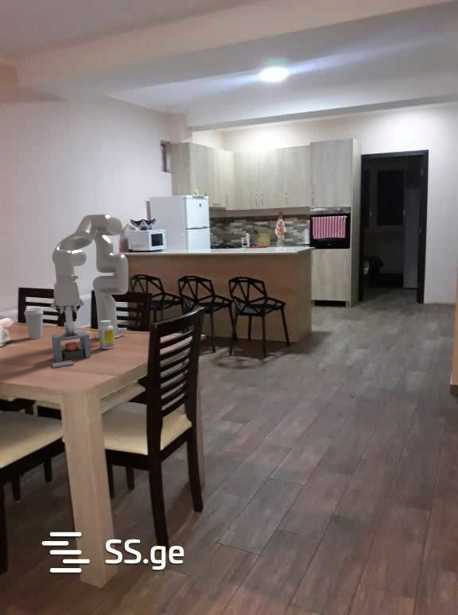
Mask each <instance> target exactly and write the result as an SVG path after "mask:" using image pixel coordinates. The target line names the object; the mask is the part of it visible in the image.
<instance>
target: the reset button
mask: <svg viewBox="0 0 458 615" xmlns="http://www.w3.org/2000/svg"><path fill="white" fill-rule="evenodd" d="M64 346H65V349H66V351H75V350H77V347H78V343H77V341H69V342H65V345H64Z"/></svg>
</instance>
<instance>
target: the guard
mask: <svg viewBox="0 0 458 615" xmlns="http://www.w3.org/2000/svg"><path fill="white" fill-rule="evenodd" d="M78 339H80V340H79V341H80V347H79V346H77V350H75V351H66V348H62V342H64V341H70V340H78ZM90 342H91V340H90V334H88V333H87V332H86V331H84V330H83V331H77V332H76V331H75V336H71V337H65V333H62V334H61V333H60V334H53V335H51V343H52V353H53V359H54V361H55V362H61V361H66V360H71V361H72V360H73V359H74V360H78V359H83V358H86V359H88V358H91V357H92V354H91V343H90ZM74 360H73V361H74Z"/></svg>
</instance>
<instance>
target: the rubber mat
mask: <svg viewBox="0 0 458 615" xmlns="http://www.w3.org/2000/svg"><path fill="white" fill-rule="evenodd" d="M50 364H51V367H52V368H53V369H59V368H64V367H70V365H71V366H74V365H75V362H74V361H72V360H67V361H65V360H62V361H61V362H57V361H55V362H51V363H50Z"/></svg>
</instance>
